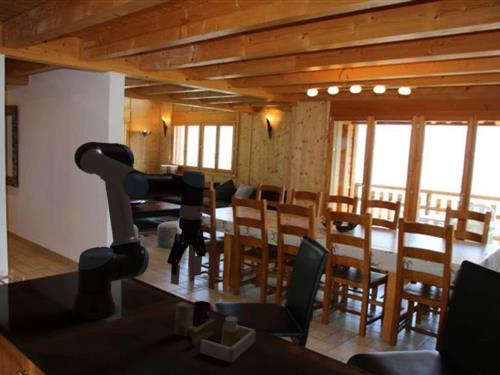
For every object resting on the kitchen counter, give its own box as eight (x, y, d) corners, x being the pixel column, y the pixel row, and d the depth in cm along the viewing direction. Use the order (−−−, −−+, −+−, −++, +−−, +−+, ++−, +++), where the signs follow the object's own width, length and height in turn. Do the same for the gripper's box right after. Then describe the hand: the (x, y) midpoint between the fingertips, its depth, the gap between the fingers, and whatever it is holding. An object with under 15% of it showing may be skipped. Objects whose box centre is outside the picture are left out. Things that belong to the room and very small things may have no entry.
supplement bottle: (218, 344, 142) (220, 316, 142) (234, 342, 144) (236, 314, 144) (224, 351, 137) (226, 322, 137) (239, 350, 140) (242, 321, 139)
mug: (201, 327, 155) (202, 308, 154) (180, 319, 160) (182, 301, 160) (213, 322, 160) (214, 304, 160) (193, 314, 166) (194, 297, 165)
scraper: (166, 337, 144) (168, 308, 143) (186, 325, 155) (188, 298, 154) (195, 346, 139) (197, 316, 139) (214, 333, 150) (216, 305, 149)
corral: (199, 352, 136) (200, 340, 135) (226, 333, 151) (227, 322, 151) (231, 362, 131) (232, 350, 131) (255, 341, 147) (256, 330, 146)
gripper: (178, 223, 132) (173, 291, 134) (219, 214, 155) (214, 272, 157) (158, 219, 135) (154, 285, 137) (201, 211, 158) (196, 268, 160)
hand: (186, 279), depth 147 cm, fingers open, 13 cm apart
